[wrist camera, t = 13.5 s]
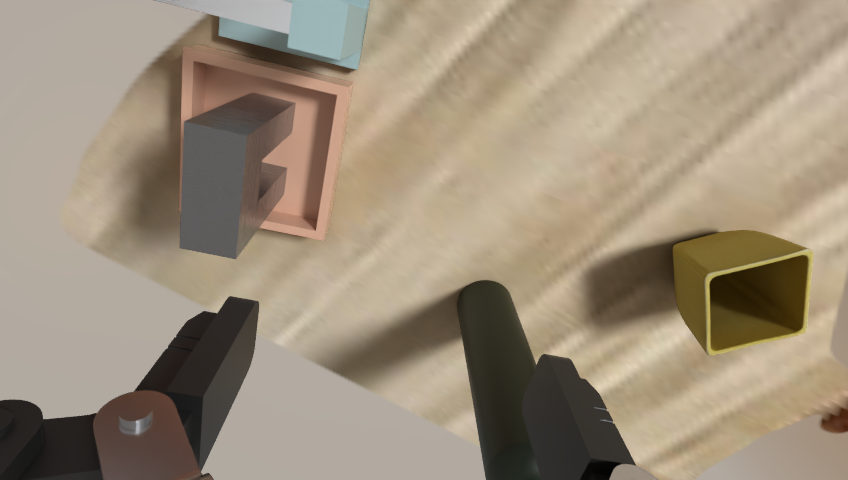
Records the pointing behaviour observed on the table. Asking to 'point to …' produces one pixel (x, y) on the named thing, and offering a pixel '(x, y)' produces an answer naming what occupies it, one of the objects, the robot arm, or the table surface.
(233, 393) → the robot arm
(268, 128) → the grey arch block
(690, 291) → the flower pot
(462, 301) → the wine bottle
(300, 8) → the peg stand
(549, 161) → the table surface
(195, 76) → the tray
